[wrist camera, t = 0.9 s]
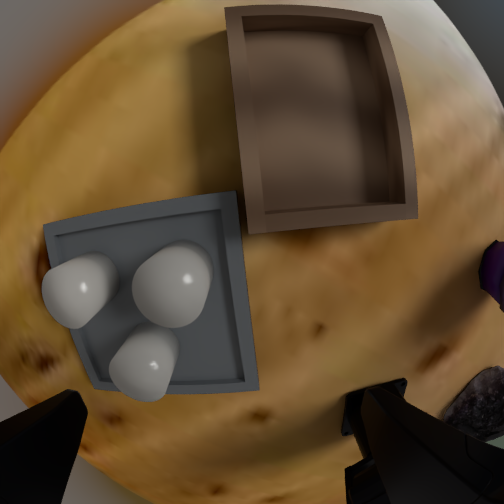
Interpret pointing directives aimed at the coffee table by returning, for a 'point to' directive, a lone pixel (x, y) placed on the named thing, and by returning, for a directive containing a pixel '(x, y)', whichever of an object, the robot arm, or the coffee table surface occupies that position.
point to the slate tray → (126, 311)
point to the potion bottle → (493, 272)
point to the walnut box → (319, 118)
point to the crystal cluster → (480, 406)
